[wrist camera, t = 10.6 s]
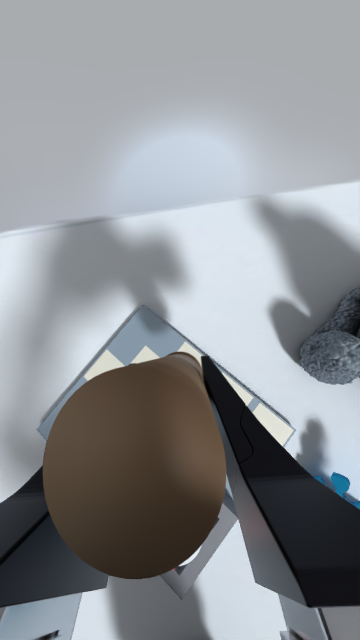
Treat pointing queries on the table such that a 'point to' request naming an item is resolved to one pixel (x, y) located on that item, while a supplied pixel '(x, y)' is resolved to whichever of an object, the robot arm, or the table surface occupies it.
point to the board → (160, 340)
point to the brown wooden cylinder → (136, 467)
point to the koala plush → (336, 345)
